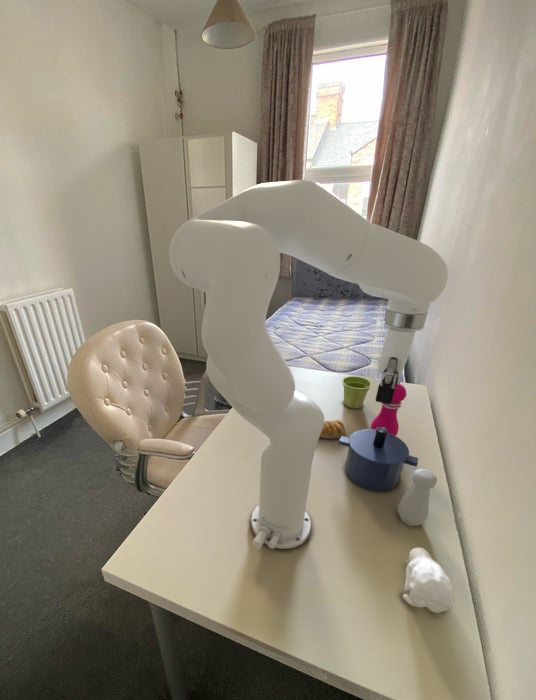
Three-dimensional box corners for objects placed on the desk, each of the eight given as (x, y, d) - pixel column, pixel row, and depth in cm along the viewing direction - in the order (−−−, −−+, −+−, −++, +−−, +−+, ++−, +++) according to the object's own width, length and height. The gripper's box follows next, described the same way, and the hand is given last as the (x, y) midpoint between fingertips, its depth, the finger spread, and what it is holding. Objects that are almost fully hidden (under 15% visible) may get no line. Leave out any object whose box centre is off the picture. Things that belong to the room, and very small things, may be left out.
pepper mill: (398, 440, 97) (416, 378, 87) (388, 451, 93) (406, 387, 83) (374, 430, 102) (388, 370, 92) (363, 440, 97) (378, 379, 87)
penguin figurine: (416, 580, 51) (407, 525, 62) (403, 616, 55) (396, 558, 65) (462, 594, 49) (445, 534, 60) (446, 629, 53) (432, 568, 63)
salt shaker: (426, 515, 73) (444, 470, 67) (422, 534, 69) (441, 488, 63) (397, 504, 76) (412, 460, 69) (392, 522, 72) (408, 476, 65)
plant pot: (335, 406, 114) (338, 384, 110) (342, 395, 121) (346, 373, 116) (363, 414, 110) (368, 391, 105) (369, 402, 116) (374, 379, 112)
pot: (406, 502, 76) (416, 474, 72) (329, 476, 84) (334, 449, 80) (411, 470, 86) (420, 443, 82) (341, 449, 94) (346, 424, 89)
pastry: (317, 442, 96) (319, 431, 95) (308, 429, 102) (309, 419, 100) (347, 437, 98) (349, 427, 96) (336, 425, 104) (337, 415, 102)
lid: (404, 474, 73) (411, 454, 70) (342, 455, 79) (346, 436, 76) (410, 442, 83) (416, 423, 81) (355, 427, 89) (358, 409, 86)
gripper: (390, 306, 75) (375, 375, 84) (378, 327, 62) (361, 406, 71) (427, 311, 72) (407, 381, 81) (422, 333, 59) (399, 415, 68)
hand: (386, 392), depth 76 cm, fingers open, 9 cm apart
